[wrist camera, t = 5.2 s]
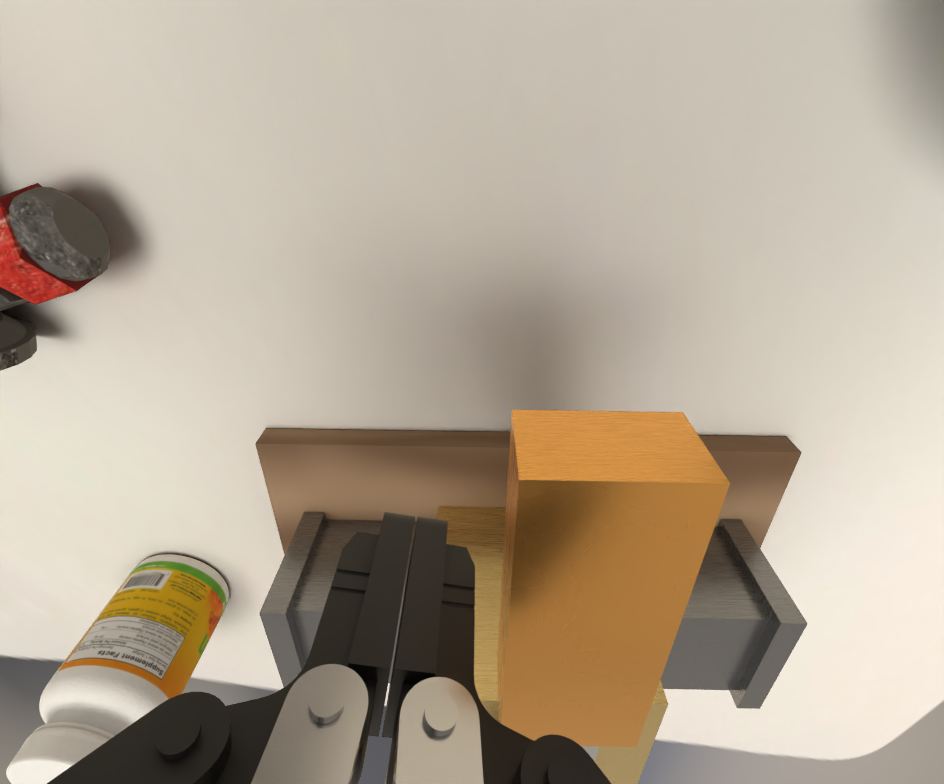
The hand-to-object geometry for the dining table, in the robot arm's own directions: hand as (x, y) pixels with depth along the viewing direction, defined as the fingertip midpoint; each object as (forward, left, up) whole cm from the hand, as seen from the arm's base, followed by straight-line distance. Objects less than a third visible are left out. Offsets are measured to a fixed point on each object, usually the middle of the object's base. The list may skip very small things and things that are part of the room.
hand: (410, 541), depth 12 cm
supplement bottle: (+15, -15, -11) cm, 24 cm away
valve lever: (+4, +4, 0) cm, 6 cm away
